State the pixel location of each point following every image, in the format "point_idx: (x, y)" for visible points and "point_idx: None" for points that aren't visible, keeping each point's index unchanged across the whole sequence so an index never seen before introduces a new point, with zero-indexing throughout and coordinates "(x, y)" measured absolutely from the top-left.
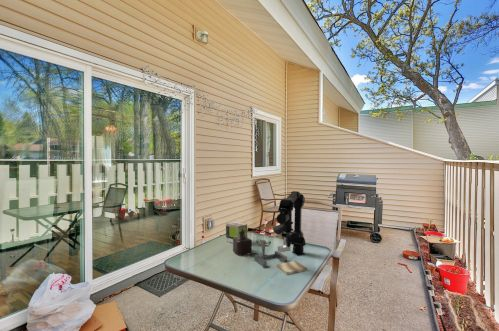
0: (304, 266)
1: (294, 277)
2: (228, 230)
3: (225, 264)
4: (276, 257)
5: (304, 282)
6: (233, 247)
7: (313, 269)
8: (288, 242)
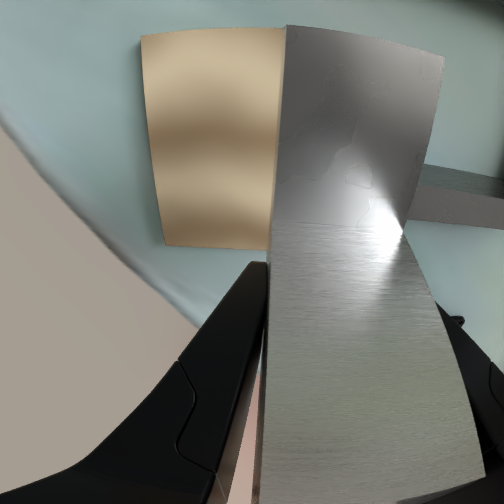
0: (195, 243)
1: (83, 75)
2: None
3: None
4: (498, 180)
5: (13, 112)
6: None
7: (163, 271)
8: (186, 361)
